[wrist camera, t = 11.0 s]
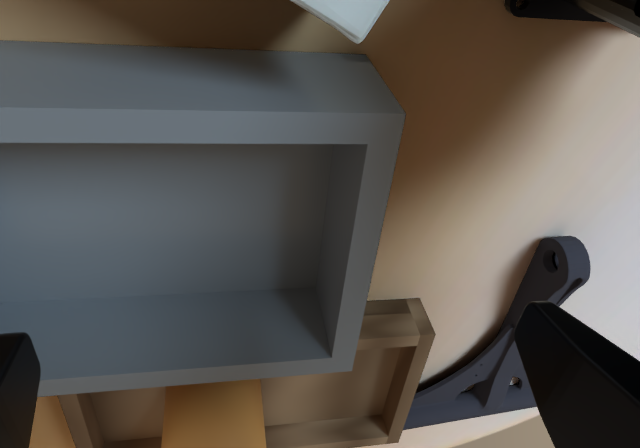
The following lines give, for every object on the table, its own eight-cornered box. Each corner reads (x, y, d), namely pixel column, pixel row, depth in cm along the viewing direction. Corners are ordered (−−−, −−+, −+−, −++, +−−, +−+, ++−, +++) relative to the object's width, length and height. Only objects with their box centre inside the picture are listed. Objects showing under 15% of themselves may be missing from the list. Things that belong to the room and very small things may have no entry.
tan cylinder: (261, 354, 27) (272, 466, 22) (259, 410, 30) (268, 519, 25) (161, 361, 26) (150, 480, 21) (169, 418, 29) (161, 533, 24)
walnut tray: (419, 298, 28) (435, 334, 26) (387, 406, 33) (398, 442, 32) (58, 318, 24) (45, 361, 22) (94, 435, 30) (86, 477, 28)
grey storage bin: (365, 54, 19) (406, 113, 15) (330, 289, 26) (351, 371, 22) (-135, 34, 16) (-249, 103, 12) (-19, 307, 23) (-65, 405, 19)
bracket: (668, 218, 28) (709, 250, 26) (564, 384, 37) (589, 418, 35) (424, 235, 25) (448, 274, 22) (375, 413, 33) (389, 453, 31)
